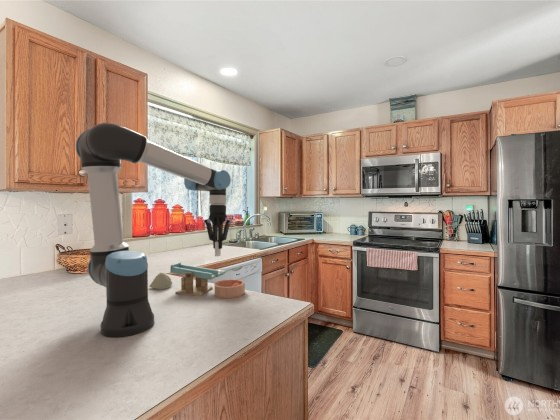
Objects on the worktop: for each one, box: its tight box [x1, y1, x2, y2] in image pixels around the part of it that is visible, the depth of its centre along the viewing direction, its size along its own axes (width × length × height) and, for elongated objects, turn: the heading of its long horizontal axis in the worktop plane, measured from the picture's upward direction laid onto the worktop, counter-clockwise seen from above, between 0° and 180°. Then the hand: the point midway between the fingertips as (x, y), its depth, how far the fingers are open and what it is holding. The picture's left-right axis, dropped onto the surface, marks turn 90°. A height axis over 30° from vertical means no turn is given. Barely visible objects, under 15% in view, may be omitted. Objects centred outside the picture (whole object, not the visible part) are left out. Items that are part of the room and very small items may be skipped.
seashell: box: [148, 272, 173, 290], centre depth 137 cm, size 8×8×8 cm
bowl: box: [213, 278, 246, 299], centre depth 126 cm, size 13×13×4 cm
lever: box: [169, 261, 227, 281], centre depth 133 cm, size 14×20×3 cm
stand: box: [175, 272, 214, 297], centre depth 130 cm, size 11×12×9 cm
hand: (217, 255), depth 134 cm, fingers closed
